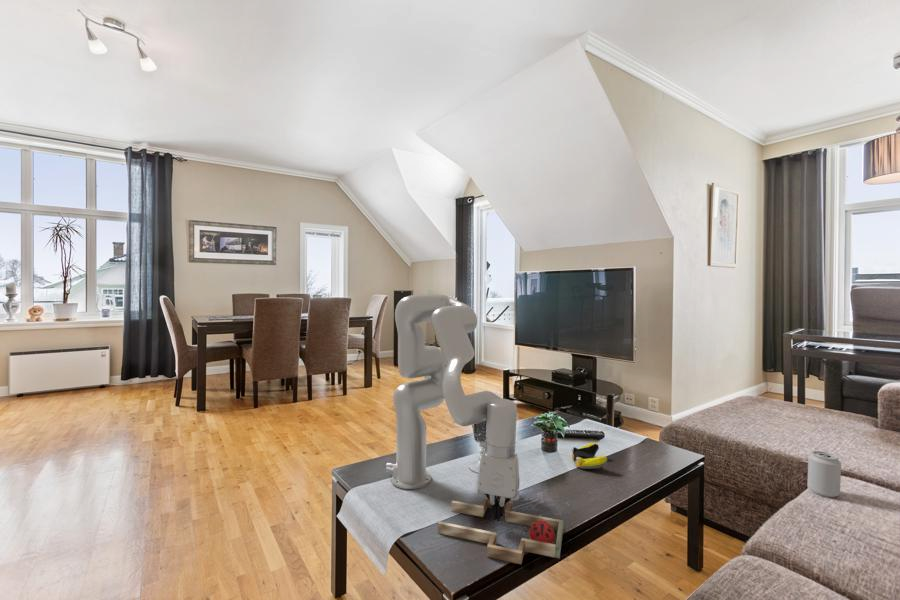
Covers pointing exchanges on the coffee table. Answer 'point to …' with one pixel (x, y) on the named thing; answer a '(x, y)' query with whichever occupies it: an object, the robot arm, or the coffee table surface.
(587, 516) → the coffee table surface
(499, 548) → the trap channel
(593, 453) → the banana bunch
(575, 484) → the coffee table surface
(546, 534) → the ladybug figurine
